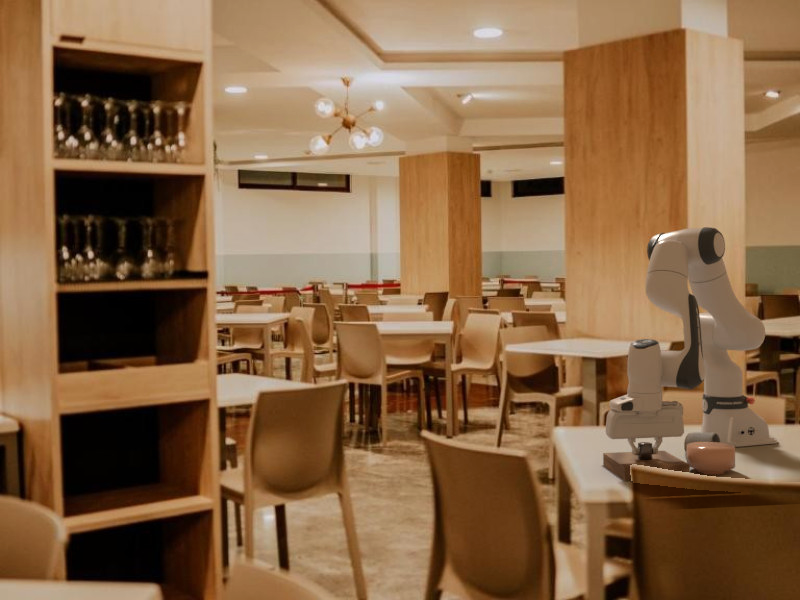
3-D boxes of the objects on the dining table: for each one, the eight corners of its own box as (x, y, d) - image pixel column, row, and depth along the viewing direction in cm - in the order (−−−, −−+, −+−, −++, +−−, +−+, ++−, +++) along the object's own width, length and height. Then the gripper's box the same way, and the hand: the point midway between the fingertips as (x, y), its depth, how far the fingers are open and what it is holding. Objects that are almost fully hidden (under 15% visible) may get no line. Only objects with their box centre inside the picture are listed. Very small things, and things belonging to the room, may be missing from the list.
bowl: (722, 466, 249) (722, 441, 249) (743, 477, 238) (743, 450, 237) (679, 468, 248) (679, 442, 248) (698, 479, 236) (698, 452, 236)
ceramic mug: (693, 454, 265) (692, 428, 265) (721, 458, 260) (721, 431, 259) (678, 462, 257) (677, 434, 256) (707, 465, 252) (706, 438, 251)
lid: (664, 463, 252) (664, 436, 252) (689, 478, 236) (689, 449, 235) (603, 465, 251) (603, 438, 250) (624, 481, 234) (624, 451, 234)
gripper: (678, 398, 246) (678, 450, 247) (603, 401, 244) (603, 453, 245) (688, 402, 240) (688, 455, 241) (611, 405, 238) (611, 458, 239)
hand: (645, 454), depth 243 cm, fingers closed on lid, 4 cm apart
